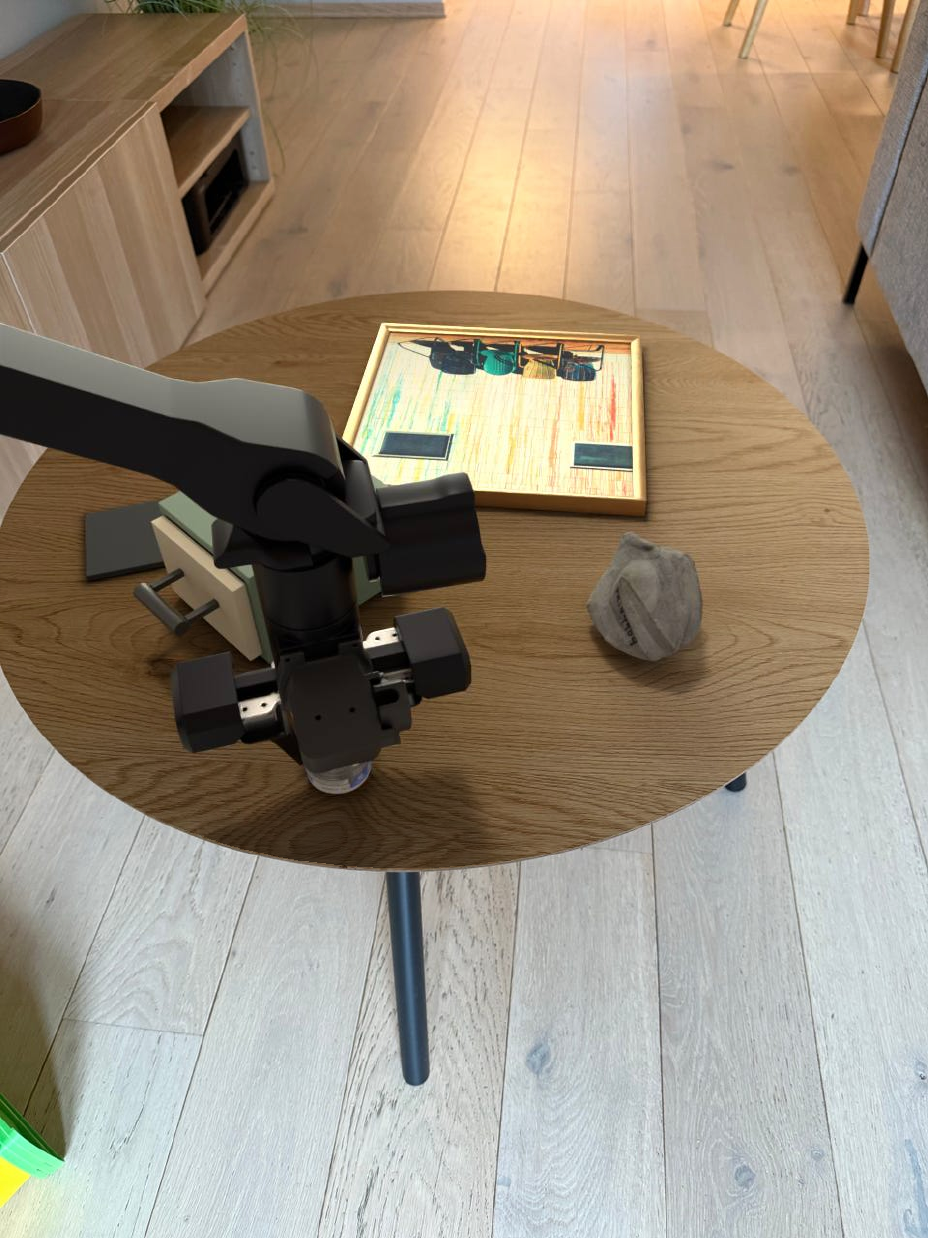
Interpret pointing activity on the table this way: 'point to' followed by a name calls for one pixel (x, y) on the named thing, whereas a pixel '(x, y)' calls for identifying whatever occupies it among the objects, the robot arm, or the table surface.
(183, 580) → the drawer
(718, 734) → the table surface
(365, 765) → the pill bottle
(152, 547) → the coaster
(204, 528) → the cabinet
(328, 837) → the table surface
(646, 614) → the fossil
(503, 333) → the picture frame
